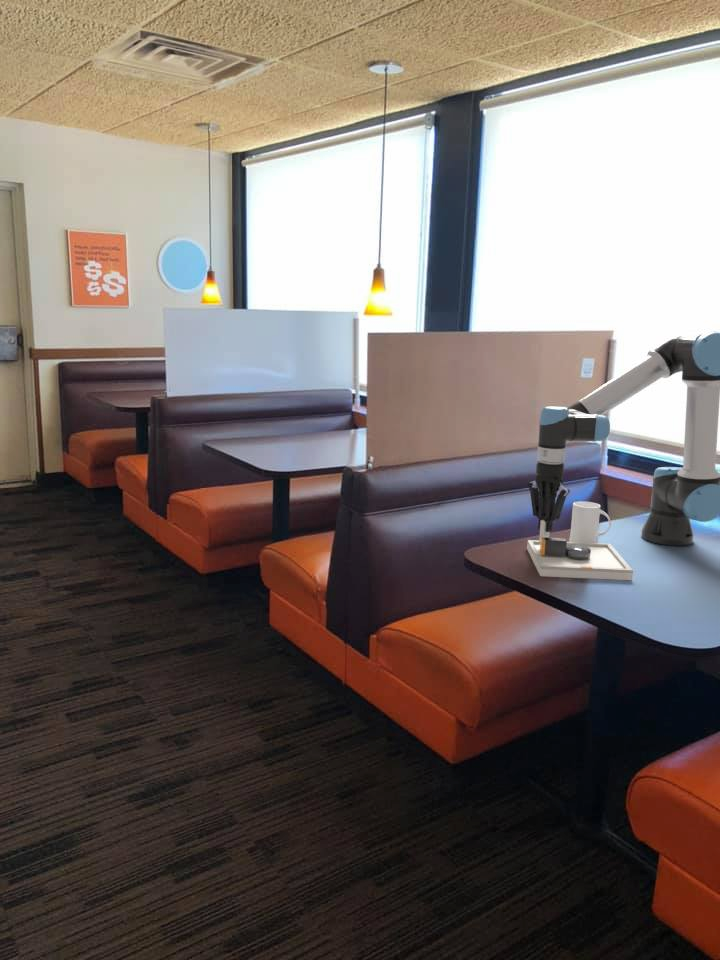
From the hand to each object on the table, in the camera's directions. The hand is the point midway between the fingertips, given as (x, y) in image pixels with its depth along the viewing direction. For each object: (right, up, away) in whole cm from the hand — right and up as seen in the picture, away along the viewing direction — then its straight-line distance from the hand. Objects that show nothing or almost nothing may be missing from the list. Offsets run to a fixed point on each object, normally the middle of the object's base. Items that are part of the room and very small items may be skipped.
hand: (543, 541), depth 220 cm
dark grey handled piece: (+4, -3, -7) cm, 9 cm away
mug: (+17, -2, +13) cm, 22 cm away
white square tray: (+8, -6, -7) cm, 12 cm away
